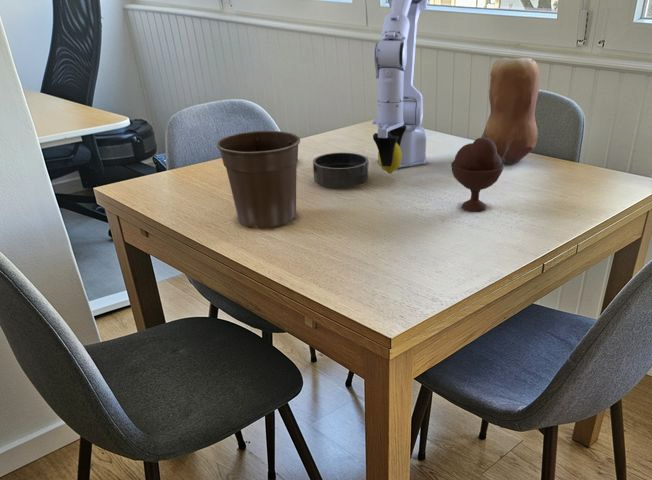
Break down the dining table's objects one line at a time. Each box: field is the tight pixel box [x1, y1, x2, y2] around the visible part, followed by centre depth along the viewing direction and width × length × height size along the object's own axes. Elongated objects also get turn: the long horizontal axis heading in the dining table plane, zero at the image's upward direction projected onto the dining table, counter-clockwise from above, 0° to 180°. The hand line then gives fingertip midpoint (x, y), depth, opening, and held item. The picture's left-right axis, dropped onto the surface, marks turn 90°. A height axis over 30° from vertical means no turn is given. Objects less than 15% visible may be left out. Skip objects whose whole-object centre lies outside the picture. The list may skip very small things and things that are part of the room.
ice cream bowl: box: [450, 137, 505, 213], centre depth 130 cm, size 11×11×15 cm
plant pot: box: [216, 130, 301, 229], centre depth 126 cm, size 16×16×16 cm
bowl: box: [312, 152, 370, 189], centre depth 149 cm, size 13×13×5 cm
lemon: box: [377, 143, 402, 175], centre depth 144 cm, size 6×6×8 cm
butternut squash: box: [483, 57, 540, 164], centre depth 155 cm, size 14×13×25 cm
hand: (389, 161), depth 145 cm, fingers closed on lemon, 5 cm apart
